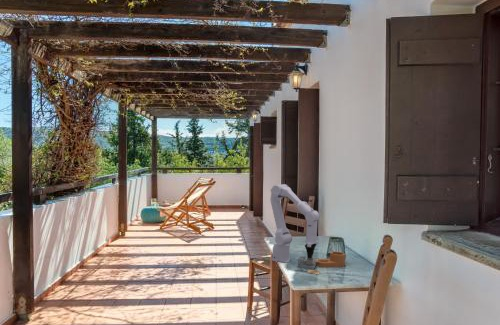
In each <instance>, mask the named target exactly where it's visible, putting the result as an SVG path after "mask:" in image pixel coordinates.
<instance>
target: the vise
mask: <svg viewBox="0 0 500 325" xmlns="http://www.w3.org/2000/svg"><path fill="white" fill-rule="evenodd" d="M318 259H319V258H316V259H315V258H314V260H315V261H314V260H313V261H312V265H306V261H307V259H306V256H304V255H300V256H299V257H298V259H297V268H301V269H307V268H309V269H310V270H315V269H316V267H317V266H316V263H315V262H318ZM315 266H316V267H315ZM314 268H315V269H314ZM309 269H308V270H309Z"/></svg>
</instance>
